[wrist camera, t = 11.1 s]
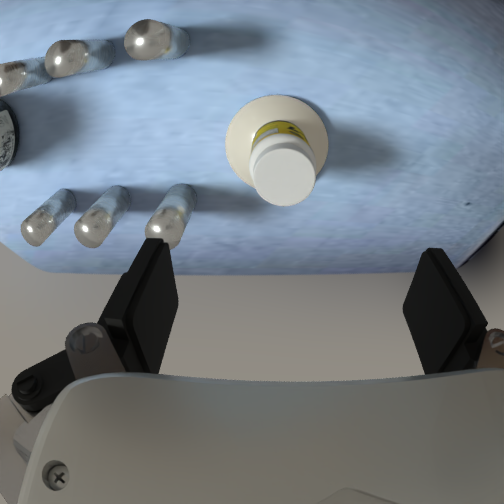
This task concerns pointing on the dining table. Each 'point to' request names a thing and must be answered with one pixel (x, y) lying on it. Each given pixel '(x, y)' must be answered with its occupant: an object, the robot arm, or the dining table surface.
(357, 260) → the dining table surface
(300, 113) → the coaster
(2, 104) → the ink bottle
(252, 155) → the supplement bottle
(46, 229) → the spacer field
